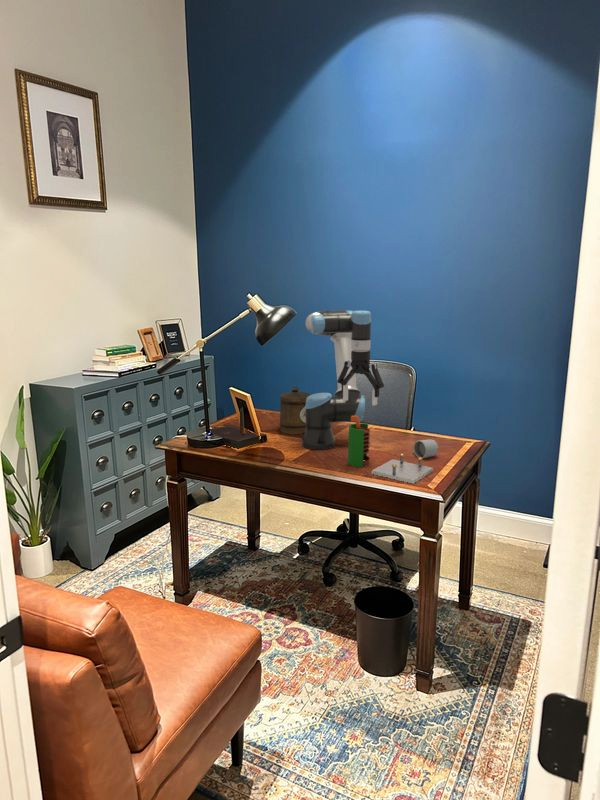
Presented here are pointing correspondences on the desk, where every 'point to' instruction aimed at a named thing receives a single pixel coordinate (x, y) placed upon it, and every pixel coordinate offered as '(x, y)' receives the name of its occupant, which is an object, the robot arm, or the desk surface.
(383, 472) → the mounting plate
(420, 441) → the ceramic mug
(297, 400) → the wooden container
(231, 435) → the diary
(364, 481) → the desk surface
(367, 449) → the motor
